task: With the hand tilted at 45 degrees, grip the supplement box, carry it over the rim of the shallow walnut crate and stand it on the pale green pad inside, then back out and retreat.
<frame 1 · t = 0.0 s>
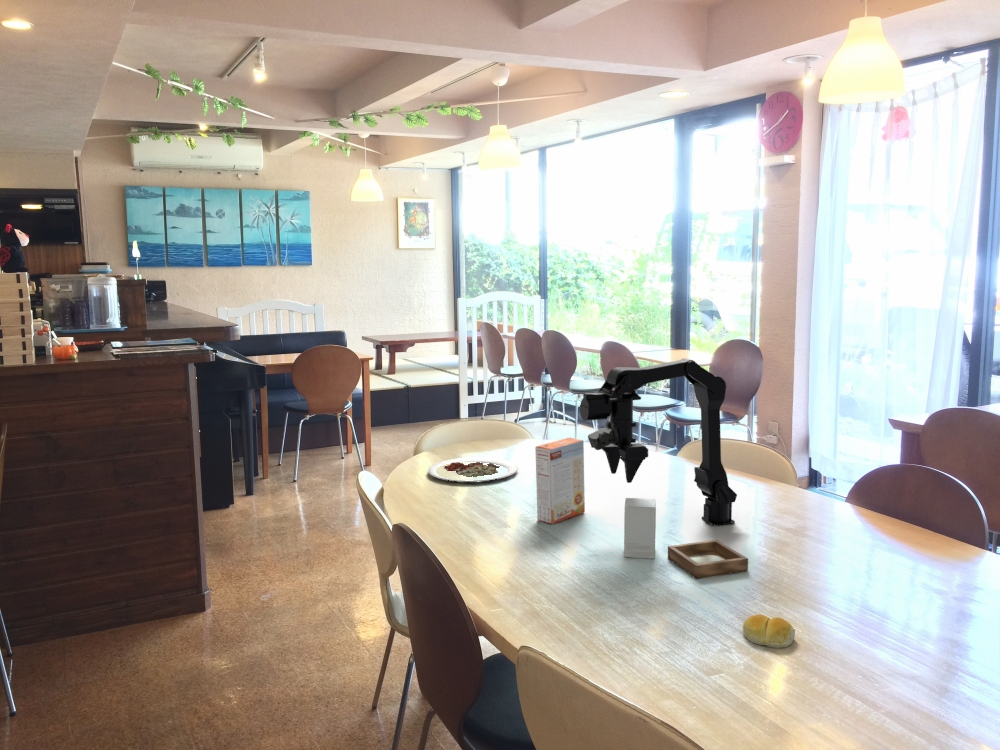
hand: (621, 478, 204), 15 cm above the table, tool pointing down, fingers open, 9 cm apart
bread roll: (768, 639, 149), on the table
crate: (706, 564, 184), on the table
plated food: (473, 474, 268), on the table
supplement box: (639, 553, 192), on the table
cracker box: (560, 517, 220), on the table
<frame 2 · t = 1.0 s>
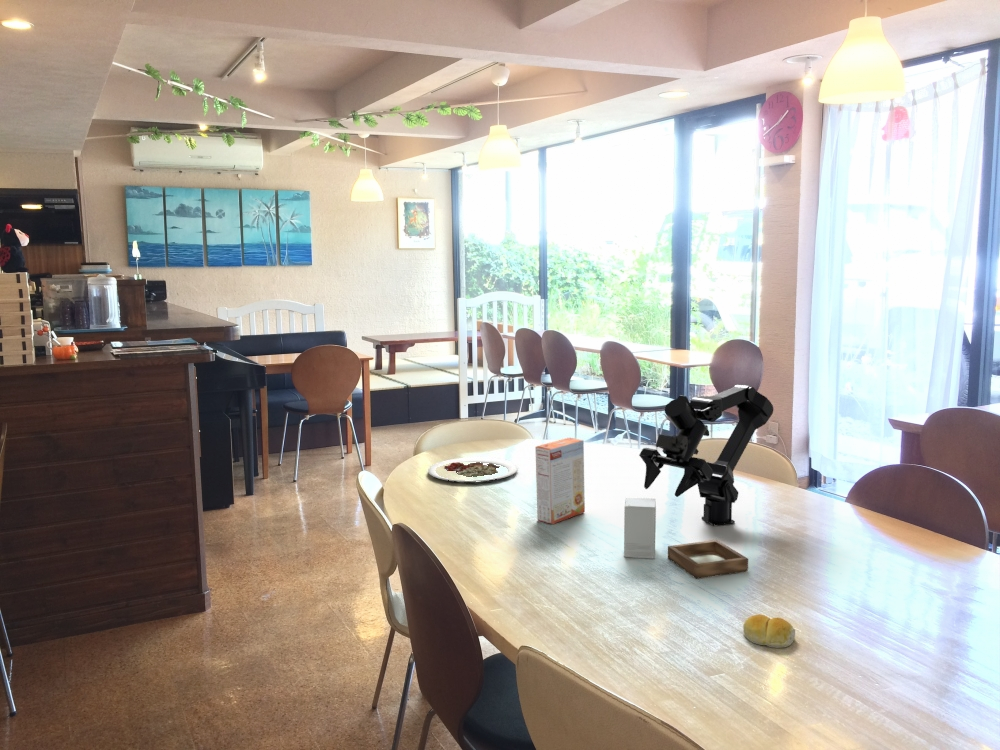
hand: (660, 492, 196), 13 cm above the table, tool tilted 45°, fingers open, 9 cm apart
nothing on the table moved.
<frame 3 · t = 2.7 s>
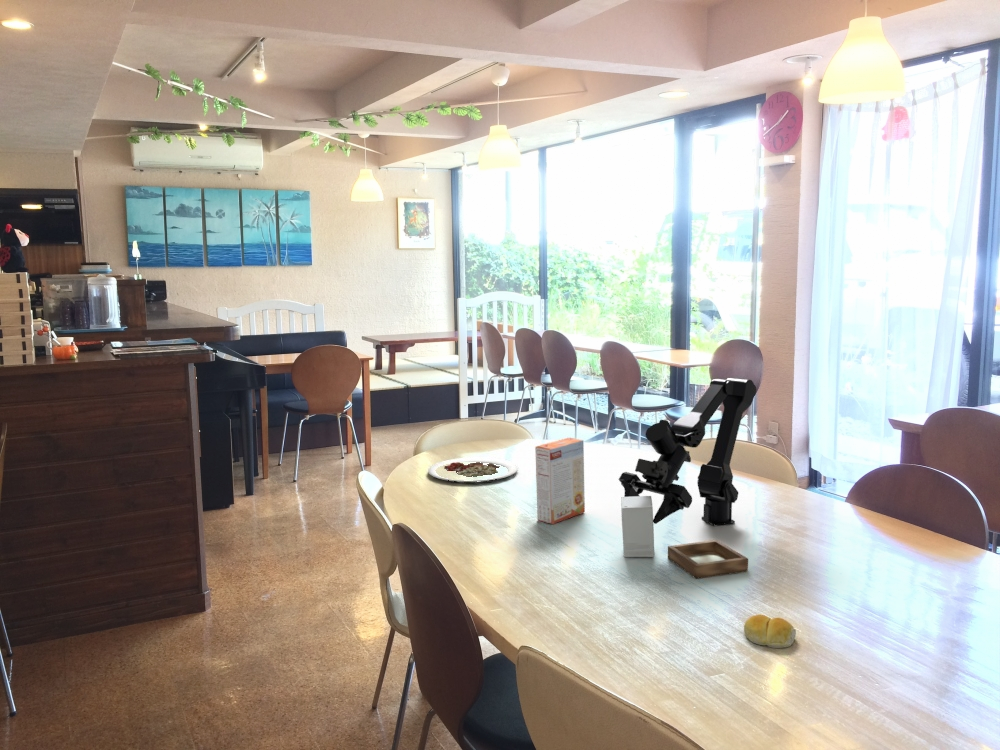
hand: (638, 518, 191), 9 cm above the table, tool tilted 45°, fingers closed on supplement box, 9 cm apart
supplement box: (639, 551, 192), on the table, touching gripper
everything else where it was.
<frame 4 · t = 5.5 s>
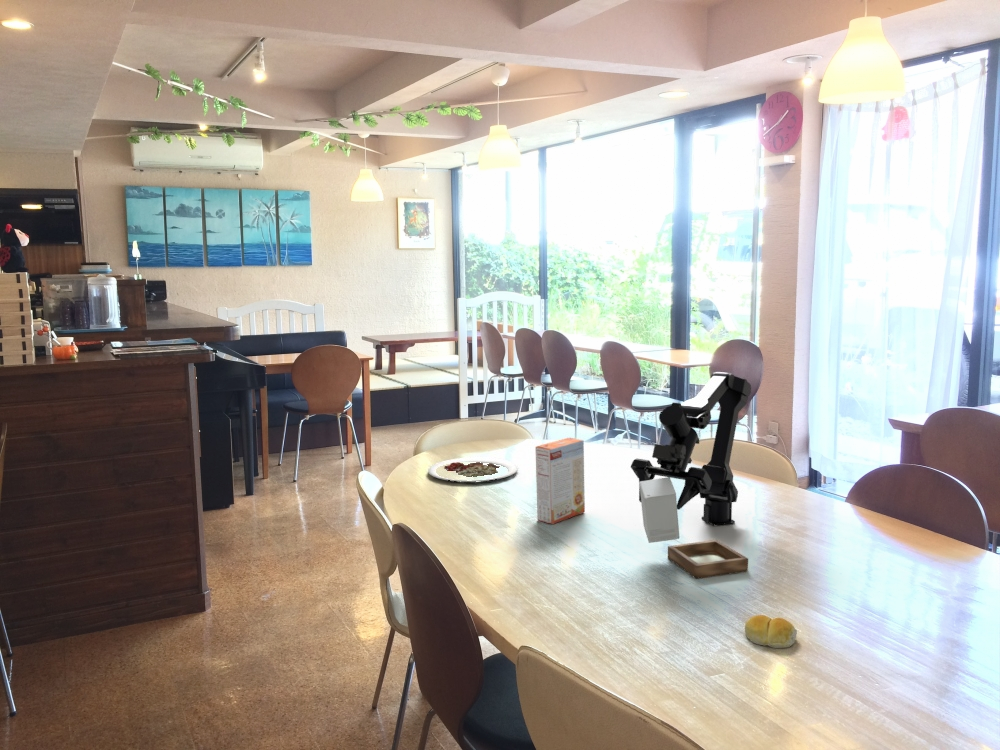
hand: (658, 505, 186), 13 cm above the table, tool tilted 45°, fingers closed on supplement box, 9 cm apart
supplement box: (661, 532, 188), point 6 cm above the table, touching gripper
everything else where it was.
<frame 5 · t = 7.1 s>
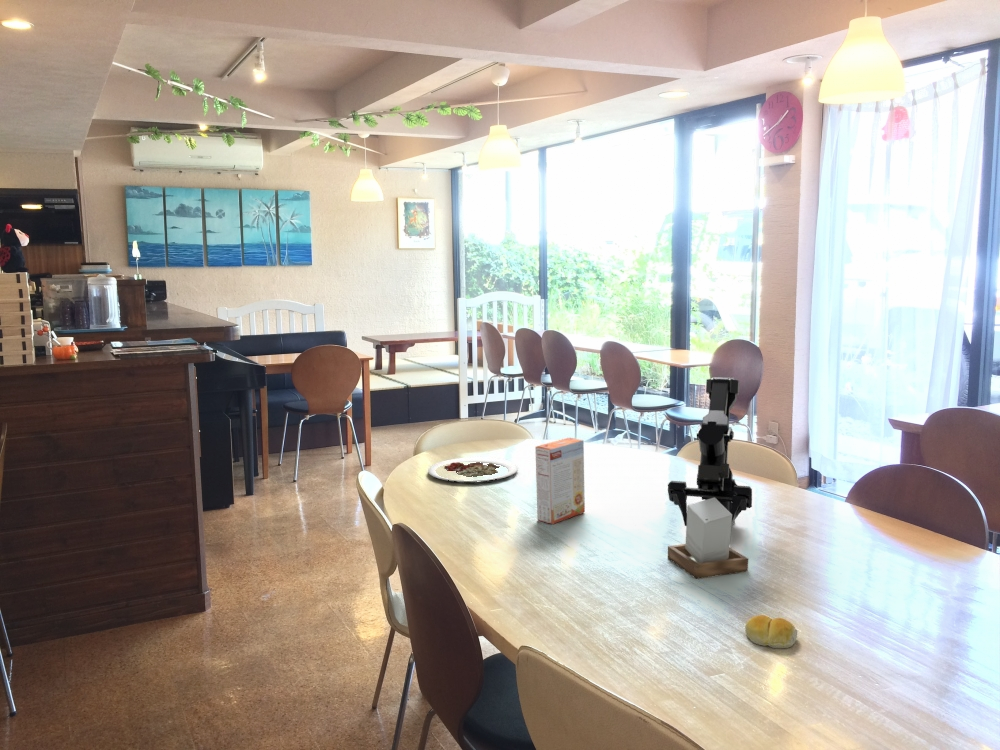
hand: (707, 527, 181), 9 cm above the table, tool tilted 45°, fingers closed on supplement box, 9 cm apart
supplement box: (706, 554, 184), point 2 cm above the table, touching crate, gripper
everything else where it was.
when the fingers open (9 cm above the table, at t = 8.4 s): supplement box drops 1 cm, resting on crate.
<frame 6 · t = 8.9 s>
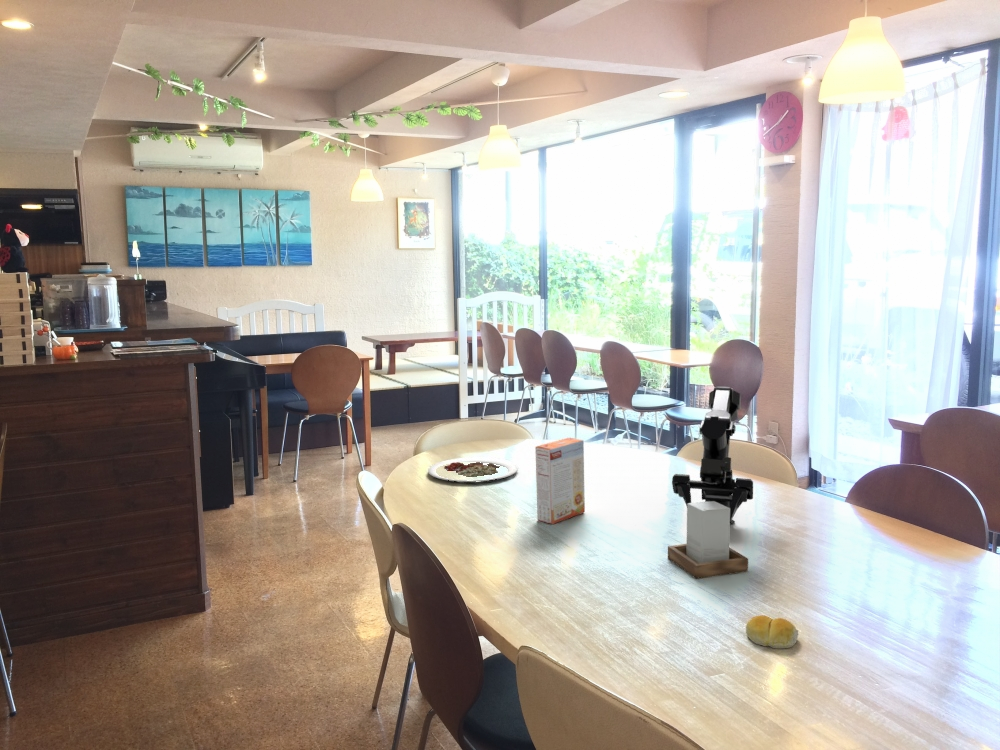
hand: (709, 518, 189), 9 cm above the table, tool tilted 45°, fingers open, 9 cm apart
supplement box: (707, 559, 185), point 1 cm above the table, touching crate
everything else where it was.
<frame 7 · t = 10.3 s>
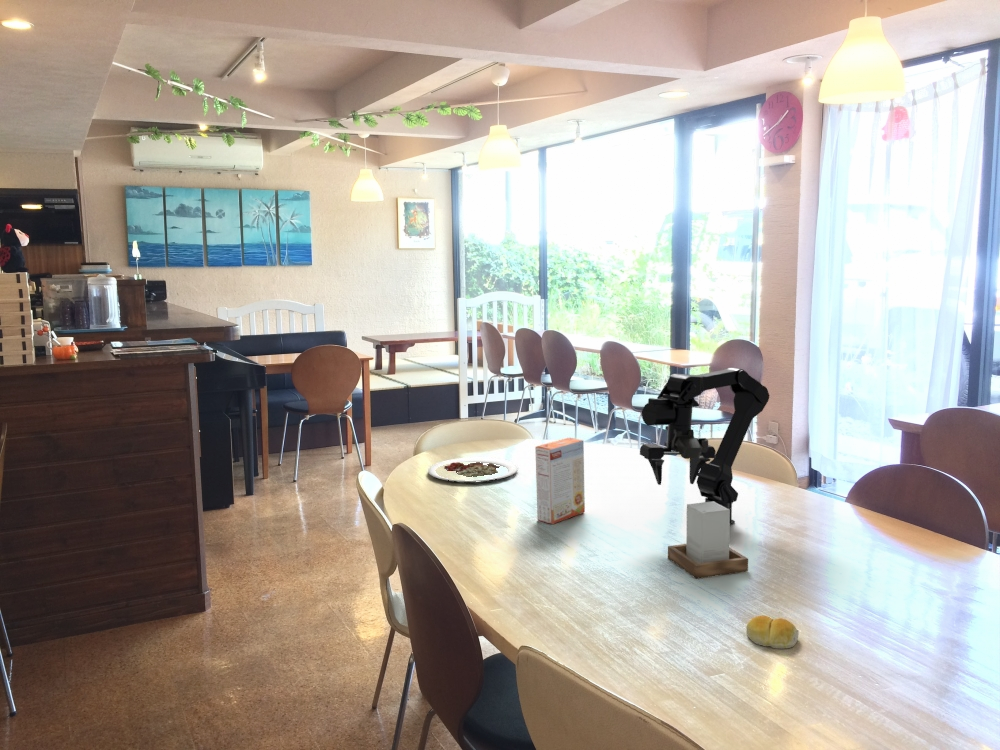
hand: (675, 484, 205), 13 cm above the table, tool pointing down, fingers open, 9 cm apart
nothing on the table moved.
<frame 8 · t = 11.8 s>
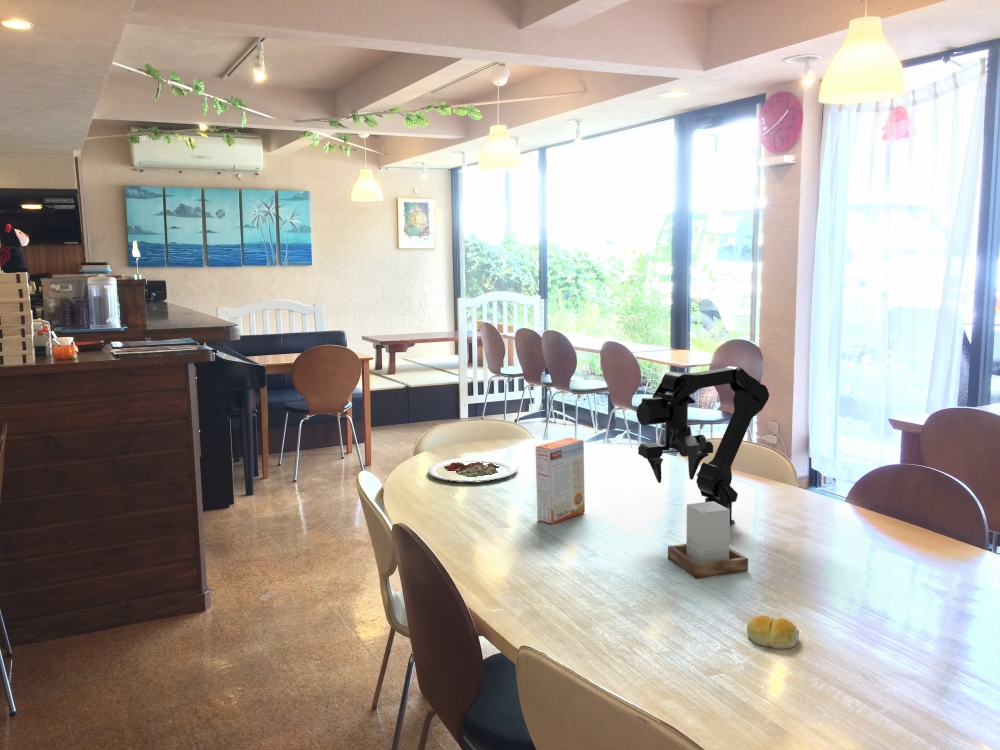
hand: (675, 481, 206), 13 cm above the table, tool pointing down, fingers open, 9 cm apart
nothing on the table moved.
at the end: supplement box inside the target area on the crate (1.3 cm from its centre), point 0.6 cm above the crate's base; supplement box tilted 0°; the gripper is holding nothing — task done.
